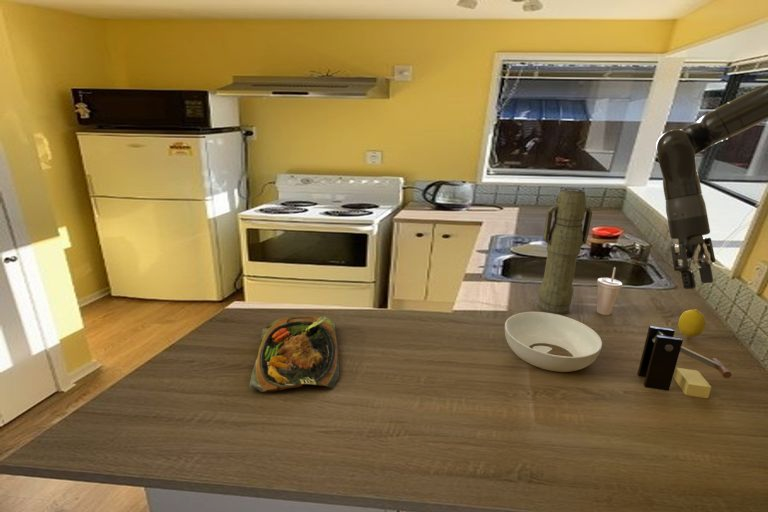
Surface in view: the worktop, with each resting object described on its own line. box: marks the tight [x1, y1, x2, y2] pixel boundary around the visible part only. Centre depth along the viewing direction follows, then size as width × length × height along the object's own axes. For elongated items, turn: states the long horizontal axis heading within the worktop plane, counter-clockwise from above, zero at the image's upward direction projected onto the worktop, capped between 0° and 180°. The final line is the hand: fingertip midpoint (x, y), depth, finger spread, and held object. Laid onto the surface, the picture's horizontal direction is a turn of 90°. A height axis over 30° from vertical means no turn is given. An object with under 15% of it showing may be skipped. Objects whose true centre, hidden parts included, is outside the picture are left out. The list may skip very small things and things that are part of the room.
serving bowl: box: [504, 311, 603, 373], centre depth 98 cm, size 21×21×7 cm
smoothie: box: [596, 266, 623, 316], centre depth 121 cm, size 6×6×14 cm
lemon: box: [677, 308, 706, 339], centre depth 109 cm, size 6×6×8 cm
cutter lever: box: [652, 331, 732, 379], centre depth 85 cm, size 14×5×2 cm, turn 75°
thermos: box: [537, 187, 593, 315], centre depth 120 cm, size 9×12×35 cm
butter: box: [673, 367, 712, 399], centre depth 87 cm, size 6×9×4 cm, turn 166°
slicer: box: [637, 325, 684, 392], centre depth 87 cm, size 8×9×13 cm
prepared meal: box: [248, 316, 340, 393], centre depth 97 cm, size 28×4×18 cm
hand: (698, 285), depth 98 cm, fingers open, 8 cm apart
